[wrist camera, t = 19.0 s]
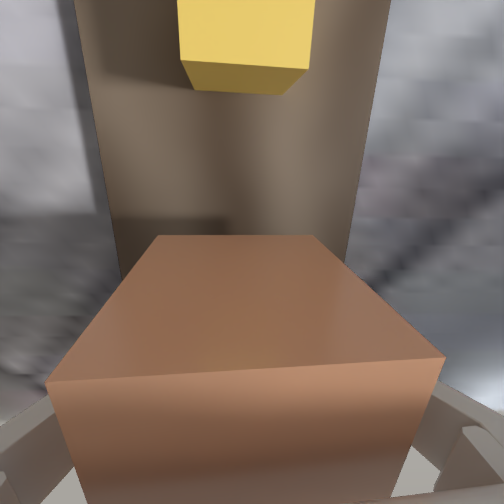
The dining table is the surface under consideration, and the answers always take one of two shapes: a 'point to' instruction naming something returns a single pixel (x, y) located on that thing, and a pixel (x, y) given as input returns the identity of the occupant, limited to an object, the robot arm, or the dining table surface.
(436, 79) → the dining table surface
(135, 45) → the board
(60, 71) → the dining table surface
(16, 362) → the dining table surface
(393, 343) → the wooden block
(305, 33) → the cube
